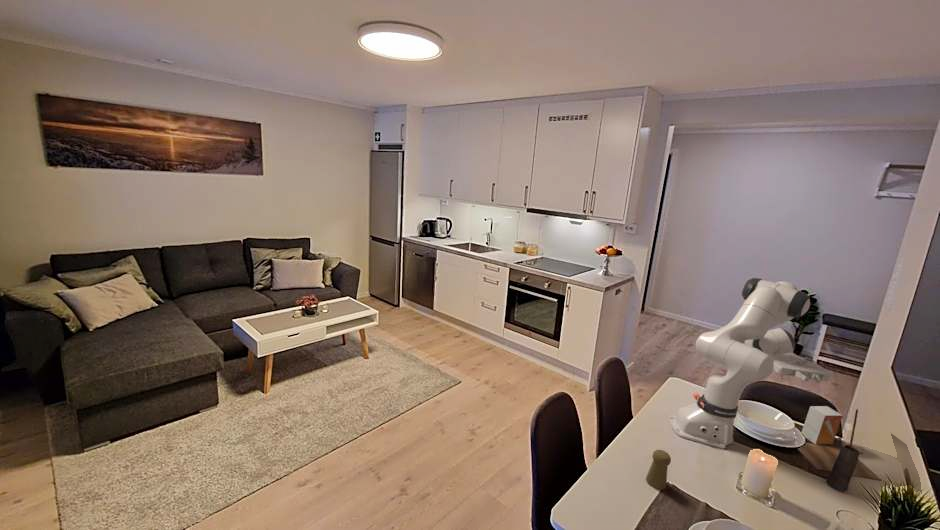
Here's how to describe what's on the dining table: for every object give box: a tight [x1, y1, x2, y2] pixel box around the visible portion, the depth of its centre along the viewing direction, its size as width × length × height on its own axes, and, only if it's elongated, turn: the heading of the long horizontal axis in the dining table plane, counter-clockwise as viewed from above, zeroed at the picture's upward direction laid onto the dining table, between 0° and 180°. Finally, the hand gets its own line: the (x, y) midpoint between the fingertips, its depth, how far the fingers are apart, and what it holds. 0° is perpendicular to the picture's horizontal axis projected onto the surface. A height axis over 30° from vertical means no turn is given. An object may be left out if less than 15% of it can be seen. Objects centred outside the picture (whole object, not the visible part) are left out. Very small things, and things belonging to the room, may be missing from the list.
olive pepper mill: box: [645, 449, 672, 491], centre depth 126 cm, size 6×6×11 cm
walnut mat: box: [797, 442, 882, 482], centre depth 146 cm, size 20×16×1 cm
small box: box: [800, 405, 844, 445], centre depth 156 cm, size 8×6×13 cm
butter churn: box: [826, 408, 864, 493], centre depth 129 cm, size 9×10×28 cm
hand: (812, 380), depth 164 cm, fingers open, 3 cm apart
